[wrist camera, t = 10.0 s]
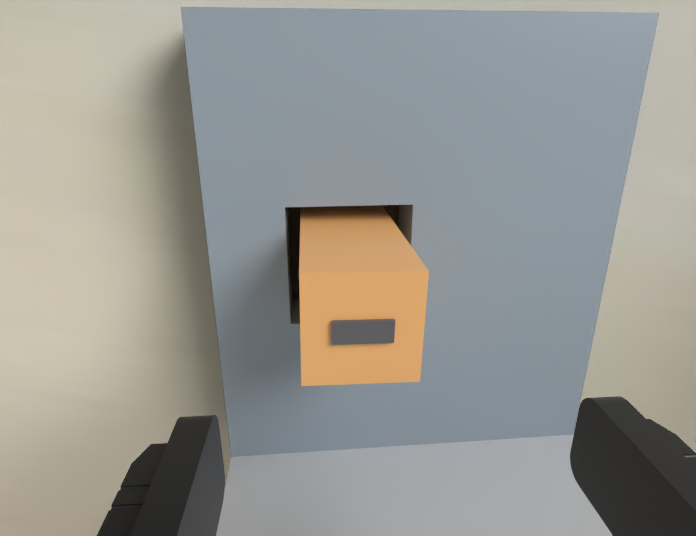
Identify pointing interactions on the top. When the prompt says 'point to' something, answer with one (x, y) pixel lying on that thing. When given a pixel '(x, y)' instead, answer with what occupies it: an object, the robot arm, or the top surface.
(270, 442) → the grey slotted stand
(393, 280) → the block
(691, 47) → the top surface
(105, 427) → the top surface
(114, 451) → the top surface
